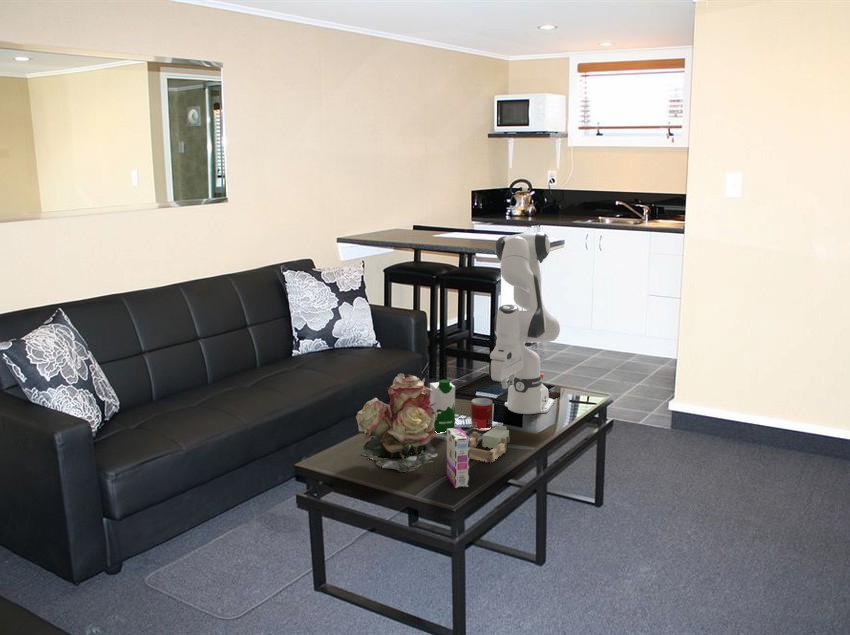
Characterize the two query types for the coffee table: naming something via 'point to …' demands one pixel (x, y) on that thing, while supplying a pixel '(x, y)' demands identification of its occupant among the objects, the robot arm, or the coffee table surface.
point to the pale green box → (495, 436)
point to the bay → (483, 454)
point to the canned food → (481, 413)
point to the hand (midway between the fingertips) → (507, 386)
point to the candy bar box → (458, 457)
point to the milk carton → (443, 405)
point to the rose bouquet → (400, 425)
